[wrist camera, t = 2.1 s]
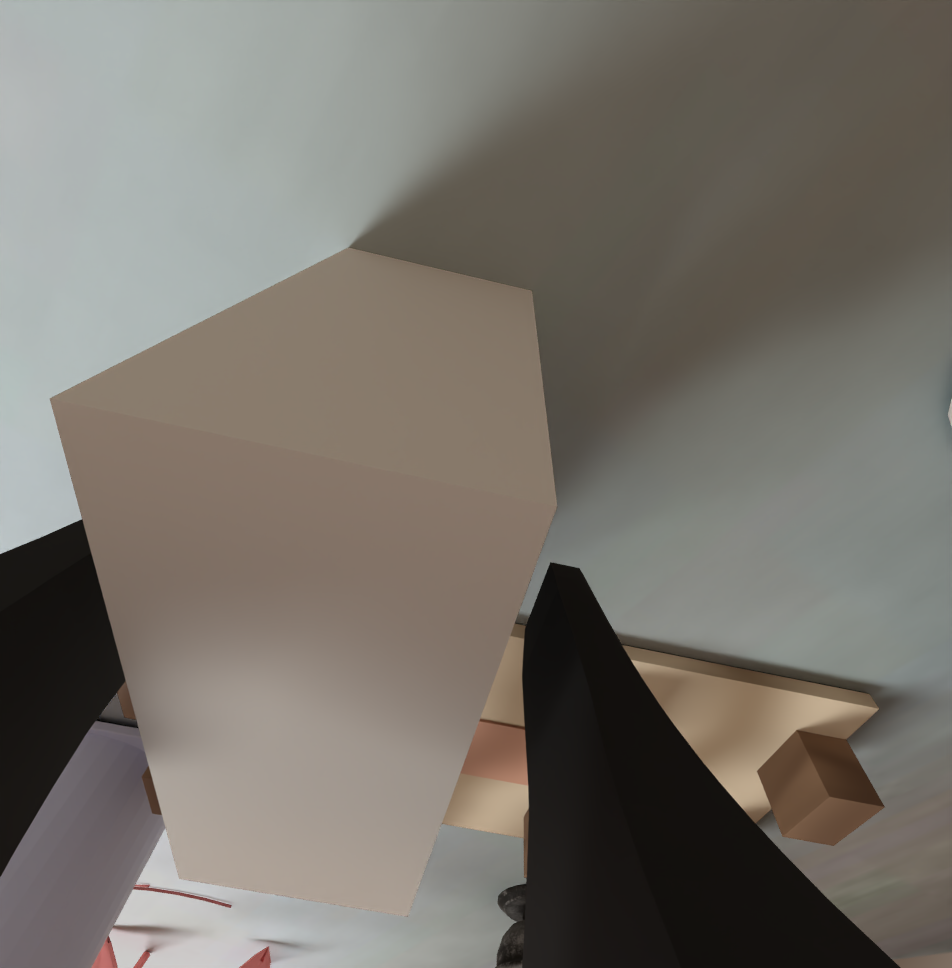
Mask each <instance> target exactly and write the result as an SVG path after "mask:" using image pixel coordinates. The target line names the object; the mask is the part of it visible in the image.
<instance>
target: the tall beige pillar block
mask: <svg viewBox="0 0 952 968" xmlns="http://www.w3.org/2000/svg"><path fill="white" fill-rule="evenodd" d="M50 401H51V405H52V409H53V412H54V416H55V420H56V424H57V427H58V431H59V435H60V438H61V442H62V446H63V449H64V453H65V457H66V461H67V464H68V468H69V472H70V475H71V479H72V483H73V487H74V490H75V494H76V498H77V501H78V505H79V509H80V512H81V516H82V520H83V524H84V527H85V531H86V535H87V538H88V542H89V546H90V550H91V553H92V557H93V561H94V564H95V568H96V572H97V576H98V579H99V583H100V587H101V590H102V594H103V598H104V601H105V605H106V609H107V613H108V616H109V620H110V624H111V627H112V631H113V635H114V639H115V642H116V646H117V650H118V653H119V657H120V661H121V665H122V668H123V672H124V676H125V679H126V683H127V687H128V690H129V694H130V698H131V702H132V705H133V709H134V713H135V716H136V720H137V724H138V728H139V731H140V735H141V739H142V742H143V746H144V750H145V754H146V757H147V761H148V765H149V768H150V772H151V776H152V779H153V783H154V787H155V791H156V794H157V798H158V802H159V805H160V809H161V813H162V817H163V820H164V824H165V828H166V831H167V835H168V839H169V843H170V846H171V850H172V854H173V857H174V861H175V865H176V868H177V872H178V876H179V879H183V880H189V881H195V882H201V883H207V884H213V885H219V886H225V887H231V888H237V889H243V890H249V891H255V892H262V893H268V894H274V895H280V896H286V897H292V898H298V899H304V900H310V901H316V902H322V903H328V904H334V905H340V906H346V907H352V908H358V909H364V910H370V911H376V912H382V913H388V914H394V915H400V916H406V917H408V915H409V912H410V910H411V907H412V904H413V901H414V899H415V896H416V893H417V890H418V888H419V885H420V882H421V879H422V877H423V874H424V871H425V868H426V866H427V863H428V860H429V857H430V855H431V852H432V849H433V846H434V844H435V841H436V838H437V835H438V833H439V830H440V827H441V824H442V822H443V819H444V816H445V813H446V811H447V808H448V805H449V802H450V800H451V797H452V794H453V792H454V789H455V786H456V783H457V781H458V778H459V775H460V772H461V770H462V767H463V764H464V761H465V759H466V756H467V753H468V750H469V748H470V745H471V742H472V739H473V737H474V734H475V731H476V728H477V726H478V723H479V720H480V717H481V715H482V712H483V709H484V706H485V704H486V701H487V698H488V695H489V693H490V690H491V687H492V684H493V682H494V679H495V676H496V673H497V671H498V668H499V665H500V662H501V660H502V657H503V654H504V651H505V649H506V646H507V643H508V640H509V638H510V635H511V632H512V629H513V627H514V624H515V621H516V618H517V616H518V613H519V610H520V607H521V605H522V602H523V599H524V596H525V594H526V591H527V588H528V586H529V583H530V580H531V577H532V575H533V572H534V569H535V566H536V564H537V561H538V558H539V555H540V553H541V550H542V547H543V544H544V542H545V539H546V536H547V533H548V531H549V528H550V525H551V522H552V520H553V517H554V514H555V511H556V509H557V500H556V491H555V483H554V474H553V466H552V457H551V449H550V440H549V432H548V423H547V415H546V406H545V397H544V389H543V380H542V372H541V363H540V355H539V346H538V338H537V329H536V320H535V312H534V303H533V295H532V291H531V290H527V289H523V288H518V287H514V286H510V285H506V284H501V283H497V282H493V281H489V280H484V279H480V278H476V277H472V276H467V275H463V274H459V273H455V272H450V271H446V270H442V269H438V268H433V267H429V266H425V265H421V264H416V263H412V262H408V261H404V260H399V259H395V258H391V257H387V256H382V255H378V254H374V253H370V252H365V251H361V250H357V249H353V248H346V249H344V250H342V251H340V252H338V253H336V254H334V255H332V256H330V257H329V258H327V259H325V260H323V261H321V262H319V263H317V264H315V265H313V266H311V267H309V268H307V269H305V270H303V271H301V272H299V273H297V274H295V275H293V276H291V277H289V278H287V279H285V280H283V281H281V282H279V283H277V284H275V285H273V286H271V287H269V288H267V289H265V290H263V291H261V292H259V293H257V294H255V295H253V296H251V297H249V298H247V299H245V300H244V301H242V302H240V303H238V304H236V305H234V306H232V307H230V308H228V309H226V310H224V311H222V312H220V313H218V314H216V315H214V316H212V317H210V318H208V319H206V320H204V321H202V322H200V323H198V324H196V325H194V326H192V327H190V328H188V329H186V330H184V331H182V332H180V333H178V334H176V335H174V336H172V337H170V338H168V339H166V340H164V341H162V342H160V343H159V344H157V345H155V346H153V347H151V348H149V349H147V350H145V351H143V352H141V353H139V354H137V355H135V356H133V357H131V358H129V359H127V360H125V361H123V362H121V363H119V364H117V365H115V366H113V367H111V368H109V369H107V370H105V371H103V372H101V373H99V374H97V375H95V376H93V377H91V378H89V379H87V380H85V381H83V382H81V383H79V384H77V385H75V386H74V387H72V388H70V389H68V390H66V391H64V392H62V393H60V394H58V395H56V396H54V397H52V398H50Z"/></svg>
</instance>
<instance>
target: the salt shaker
mask: <svg viewBox="0 0 952 968" xmlns="http://www.w3.org/2000/svg"><path fill="white" fill-rule="evenodd" d="M525 904H526V885H518V886H515V887H511V888H508V889H506V890H505V891H503V892H502V893H501V894H500V895H499V896H498V905H499V907H500V908H501V910H502V911H504V912H505V913H506V914H507V915H508V916H509V917H510V918H511V919H513V920H515V921H517V922H516V923H514V924H513V925H512V926H511V927H510V928H509V930H508V931H507V932H506V933H505V935H504V936H503V938H502V941H501V944H500V947H499V950H498V953H497V967H495V968H522V961H523V944H524V926H525Z"/></svg>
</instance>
